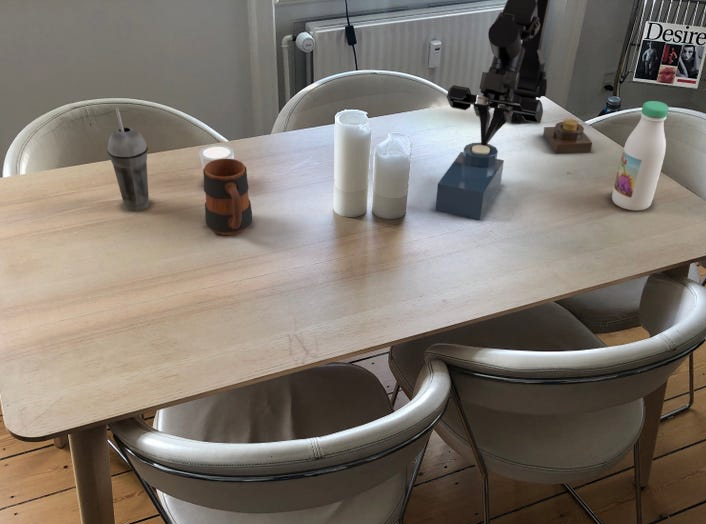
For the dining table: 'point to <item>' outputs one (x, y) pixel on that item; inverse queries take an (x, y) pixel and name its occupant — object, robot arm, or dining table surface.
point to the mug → (227, 197)
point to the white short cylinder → (480, 149)
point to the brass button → (570, 124)
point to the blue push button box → (470, 183)
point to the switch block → (567, 139)
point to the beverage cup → (130, 165)
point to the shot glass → (215, 154)
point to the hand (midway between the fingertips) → (483, 145)
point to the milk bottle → (642, 159)
